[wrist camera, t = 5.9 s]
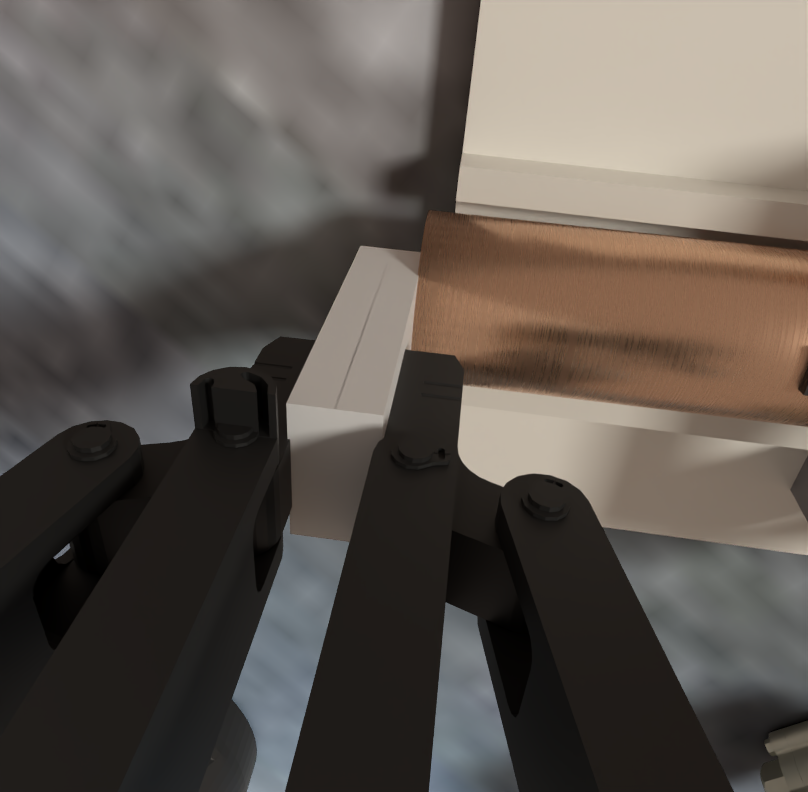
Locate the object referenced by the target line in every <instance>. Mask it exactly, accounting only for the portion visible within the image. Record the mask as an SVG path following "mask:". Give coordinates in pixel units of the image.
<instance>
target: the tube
mask: <svg viewBox="0 0 808 792" xmlns="http://www.w3.org/2000/svg"><path fill="white" fill-rule="evenodd" d="M411 350H414V351H422V352H430V353H439V354H447V355H455V356H456V358H457V359H458V361H459V362H460V364H461V366H462V367H463V369H464V380H463V386H471V387H479V388H487V389H496V390H504V391H512V392H521V393H529V394H537V395H546V396H554V397H562V398H570V399H579V400H587V401H595V402H604V403H612V404H620V405H629V406H637V407H645V408H653V409H662V410H670V411H678V412H687V413H695V414H703V415H712V416H720V417H728V418H736V419H745V420H753V421H761V422H770V423H778V424H786V425H795V426H803V427H808V250H801V249H792V248H783V247H773V246H764V245H754V244H745V243H735V242H726V241H716V240H707V239H697V238H688V237H679V236H669V235H660V234H650V233H641V232H631V231H622V230H612V229H603V228H593V227H584V226H575V225H565V224H556V223H546V222H537V221H527V220H518V219H508V218H499V217H489V216H480V215H470V214H461V213H452V212H442V211H433V210H429V211H428V214H427V218H426V223H425V228H424V234H423V240H422V247H421V254H420V261H419V268H418V284H417V293H416V302H415V311H414V321H413V332H412V344H411Z"/></svg>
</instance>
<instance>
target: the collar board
mask: <svg viewBox="0 0 808 792" xmlns="http://www.w3.org/2000/svg"><path fill="white" fill-rule="evenodd" d="M455 213H461V214H470V215H480V216H489V217H499V218H508V219H518V220H527V221H537V222H546V223H556V224H565V225H575V226H584V227H593V228H603V229H612V230H622V231H631V232H641V233H650V234H660V235H669V236H679V237H688V238H697V239H707V240H716V241H726V242H735V243H745V244H754V245H764V246H773V247H783V248H792V249H801V250H808V0H481V4H480V13H479V21H478V29H477V37H476V45H475V54H474V62H473V70H472V78H471V86H470V95H469V103H468V111H467V119H466V127H465V136H464V144H463V152H462V158H461V163H460V170H459V179H458V187H457V195H456V209H455ZM458 454H459V456H460V458H461V460H462V462H463V463H464V464H465V466H466V467H467V468H468V469H469V470H470V471H472V472H473V473H475V474H476V475H477V476H479V477H481V478H483V479H485V480H487V481H489V482H492V483H495V484H497V485H500V486H503V487H504V486H505V484H506V483H507V482H508V481H510V480H512V479H513V478H515V477H517V476H520V475H526V474H532V473H535V474H545V475H551V476H554V477H557V478H560V479H563V480H566V481H568V482H569V483H571V484H572V485H573V486H575V487H576V488H578V489H579V490H581V492H582V493H583V494H584V495H585V497H586V498H587V499H588V500H589V502H590V504H591V506H592V508H593V510H594V512H595V514H596V516H597V518H598V520H599V522H600V524H601V526H602V527H607V528H614V529H621V530H629V531H636V532H643V533H650V534H658V535H665V536H672V537H679V538H687V539H694V540H701V541H708V542H716V543H723V544H730V545H737V546H745V547H752V548H759V549H766V550H774V551H781V552H788V553H795V554H803V555H808V427H803V426H795V425H786V424H778V423H770V422H761V421H753V420H745V419H736V418H728V417H720V416H712V415H703V414H695V413H687V412H678V411H670V410H662V409H653V408H645V407H637V406H629V405H620V404H612V403H604V402H595V401H587V400H579V399H570V398H562V397H554V396H546V395H537V394H529V393H521V392H512V391H504V390H496V389H487V388H479V387H471V386H463V391H462V403H461V414H460V425H459V437H458Z"/></svg>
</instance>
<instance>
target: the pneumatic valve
mask: <svg viewBox="0 0 808 792" xmlns="http://www.w3.org/2000/svg"><path fill="white" fill-rule="evenodd" d="M764 744H765V747H766V749H767V751H768V752H769V754H770V755H771V756H776V755H777V756H778V759H776V760H773V761H770V762H766V763H764V764H763V766H762V768H761V771H760V776H761V781H762V784H763V787H764V790H765V792H808V721H805V722H801V723H798V724H795V725H792V726H789V727H786V728H783V729H780V730H777V731H773V732H770V733H769V738H768V739H765V740H764Z"/></svg>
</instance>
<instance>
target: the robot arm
mask: <svg viewBox="0 0 808 792" xmlns="http://www.w3.org/2000/svg"><path fill="white" fill-rule="evenodd" d="M420 254H421V252H414V251H405V250H396V249H387V248H378V247H369V246H360V248H359V250H358V252H357V254H356V256H355V259H354V261H353V263H352V265H351V267H350V269H349V271H348V273H347V276H346V278H345V280H344V282H343V284H342V286H341V288H340V290H339V293H338V295H337V297H336V299H335V301H334V303H333V305H332V307H331V309H330V312H329V314H328V316H327V318H326V320H325V322H324V324H323V326H322V329H321V331H320V333H319V335H318V337H317V339H316V341H315V340H306V339H298V338H289V337H279V338H278V339H276V340H274V341H273V342H271V343H270V344H268V345H267V346H265V347H264V348H263V349H262V351H261V352H260V354H259V356H258V357H257V359H256V361H255V364H254V365H253V366H252V367H251V368H247V367H227V368H221V369H216V370H212V371H210V372H207V373H205V374H203V375H200V376H199V377H198V378H196V379H195V380H194V381H193V382H192V383H191V384H190V389H191V397H192V406H193V414H194V422H195V430H194V431H193V433H192V434H191V436H190V437H189V439H187V440H184V441H177V442H170V443H158V444H146V445H141V443H140V438H139V436H138V434H137V433H136V431H135V429H134V428H132V427H130V426H128V425H126V424H124V423H121V422H115V421H109V420H104V421H91V422H87V423H83V424H80V425H76V426H73V427H71V428H69V429H67V430H65V431H63V432H61V433H60V434H58V435H56V436H55V437H54V438H52V439H51V440H50V441H48V442H47V443H45V444H44V445H43V446H41V447H40V448H39V449H37V450H36V451H34V452H33V453H32V454H30V455H29V456H28V457H26V458H25V459H23V460H22V461H21V462H19V463H18V464H17V465H15V466H14V467H12V468H11V469H10V470H8V471H7V472H6V473H4V474H3V475H1V476H0V792H247V789H248V785H249V782H250V779H251V775H252V772H253V769H254V765H255V762H256V756H257V748H256V741H255V737H254V734H253V731H252V729H251V727H250V725H249V723H248V721H247V719H246V718H245V716H244V714H243V713H242V712H241V710H240V709H239V708H238V706H237V705H236V704H235V703H234V702H233V701H232V697H233V694H234V691H235V688H236V685H237V682H238V680H239V677H240V674H241V671H242V668H243V666H244V663H245V660H246V657H247V654H248V652H249V649H250V646H251V643H252V640H253V638H254V635H255V632H256V629H257V626H258V624H259V621H260V618H261V615H262V612H263V610H264V607H265V604H266V601H267V598H268V595H269V593H270V590H271V587H272V584H273V581H274V579H275V576H276V573H277V570H278V567H279V565H280V562H281V559H282V554H283V530H284V527H285V524H286V522H287V519H288V516H289V514H290V534H297V535H304V536H311V537H319V538H326V539H333V540H340V541H348V542H349V546H348V550H347V554H346V558H345V562H344V566H343V569H342V573H341V577H340V581H339V585H338V589H337V593H336V597H335V600H334V604H333V608H332V612H331V616H330V620H329V624H328V628H327V631H326V635H325V639H324V643H323V647H322V651H321V655H320V659H319V662H318V666H317V670H316V674H315V678H314V682H313V686H312V689H311V693H310V697H309V701H308V705H307V709H306V713H305V717H304V720H303V724H302V728H301V732H300V736H299V740H298V744H297V748H296V751H295V755H294V759H293V763H292V767H291V771H290V775H289V778H288V782H287V786H286V790H285V792H429V782H430V770H431V759H432V748H433V737H434V725H435V714H436V703H437V692H438V680H439V669H440V658H441V646H442V635H443V624H444V613H445V602H447V603H449V604H451V605H453V606H456V607H458V608H460V609H463V610H465V611H467V612H469V613H472V614H474V615H476V616H478V628H479V632H480V636H481V640H482V644H483V648H484V652H485V656H486V660H487V664H488V668H489V672H490V676H491V680H492V684H493V688H494V692H495V696H496V700H497V704H498V708H499V712H500V716H501V720H502V724H503V728H504V732H505V736H506V740H507V744H508V748H509V752H510V756H511V760H512V764H513V768H514V772H515V776H516V780H517V784H518V788H519V792H734V791H733V789H732V787H731V785H730V783H729V781H728V779H727V777H726V775H725V773H724V771H723V769H722V767H721V765H720V763H719V761H718V759H717V757H716V755H715V753H714V751H713V749H712V747H711V745H710V743H709V741H708V739H707V737H706V735H705V733H704V731H703V729H702V727H701V725H700V723H699V721H698V719H697V717H696V715H695V713H694V711H693V709H692V707H691V705H690V703H689V701H688V699H687V697H686V695H685V693H684V691H683V689H682V687H681V685H680V683H679V681H678V679H677V677H676V675H675V673H674V671H673V669H672V667H671V665H670V663H669V661H668V658H667V656H666V654H665V652H664V650H663V648H662V646H661V644H660V642H659V640H658V638H657V636H656V634H655V632H654V630H653V628H652V626H651V624H650V622H649V620H648V618H647V616H646V614H645V612H644V610H643V608H642V606H641V604H640V602H639V600H638V598H637V596H636V594H635V592H634V590H633V588H632V586H631V584H630V582H629V580H628V578H627V576H626V574H625V572H624V570H623V568H622V566H621V564H620V562H619V560H618V558H617V556H616V554H615V552H614V550H613V548H612V546H611V544H610V542H609V540H608V538H607V536H606V534H605V532H604V530H603V528H602V526H601V524H600V522H599V520H598V518H597V516H596V514H595V512H594V510H593V508H592V506H591V504H590V502H589V500H588V499H587V498H586V497H585V495H584V494H583V493H582V492H581V490H579V489H578V488H576V487H575V486H573V485H572V484H571V483H569V482H568V481H566V480H563V479H560V478H557V477H554V476H551V475H545V474H535V473H532V474H526V475H520V476H517V477H515V478H513V479H512V480H510V481H508V482H507V483H506V484H505V486H504V487H503V486H500V485H497V484H495V483H492V482H489V481H487V480H485V479H483V478H481V477H479V476H477V475H476V474H475V473H473V472H472V471H470V470H469V469H468V468H467V467H466V466H465V464H464V463H463V462H462V460H461V458H460V456H459V454H458V437H459V425H460V414H461V403H462V391H463V380H464V369H463V367H462V366H461V364H460V362H459V361H458V359H457V358H456V356H455V355H447V354H439V353H430V352H422V351H414V350H411V344H412V332H413V321H414V311H415V302H416V293H417V284H418V268H419V261H420ZM67 544H70V549H69V550H68V551H67V552H66V553H64V554H63V555H62V556H60V557H58V558H57V559H54V558H53V557H54V556H55V555H56V554H58V553H59V552H60V551H61V550H62V549H63V548H64V547H65V546H66V545H67Z"/></svg>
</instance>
